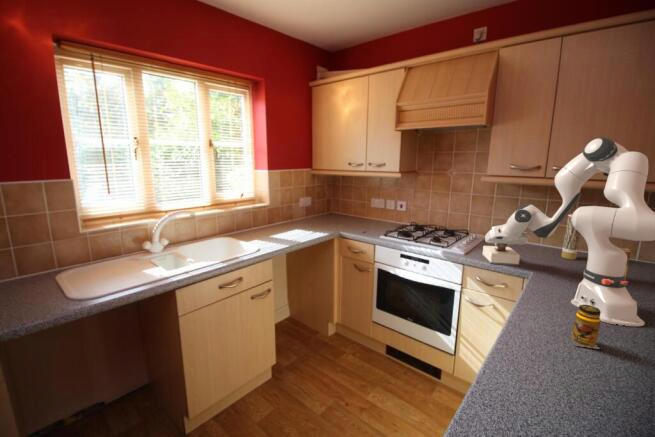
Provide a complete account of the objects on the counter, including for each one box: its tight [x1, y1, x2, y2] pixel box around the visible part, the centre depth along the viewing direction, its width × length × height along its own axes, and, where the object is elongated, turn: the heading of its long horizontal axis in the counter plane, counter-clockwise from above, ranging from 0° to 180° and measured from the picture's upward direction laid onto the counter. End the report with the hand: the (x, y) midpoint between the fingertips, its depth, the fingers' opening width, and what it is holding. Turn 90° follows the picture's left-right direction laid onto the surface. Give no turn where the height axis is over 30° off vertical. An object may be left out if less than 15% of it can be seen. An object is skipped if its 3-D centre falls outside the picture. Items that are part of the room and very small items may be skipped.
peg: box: [497, 243, 507, 252], centre depth 175 cm, size 4×4×9 cm
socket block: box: [481, 245, 521, 266], centre depth 176 cm, size 14×14×6 cm
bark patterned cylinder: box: [561, 213, 581, 261], centre depth 179 cm, size 7×7×25 cm
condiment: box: [571, 305, 602, 347], centre depth 100 cm, size 7×8×12 cm
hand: (501, 245), depth 175 cm, fingers closed on peg, 4 cm apart
